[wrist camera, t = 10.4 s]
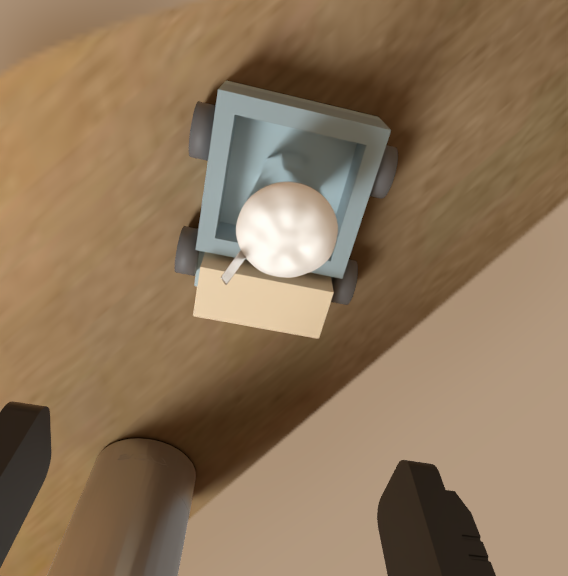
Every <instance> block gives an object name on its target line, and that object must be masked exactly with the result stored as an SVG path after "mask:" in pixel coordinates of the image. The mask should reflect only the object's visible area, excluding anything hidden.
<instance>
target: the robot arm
mask: <svg viewBox="0 0 568 576" xmlns="http://www.w3.org/2000/svg"><path fill="white" fill-rule="evenodd" d="M50 460H51V432H50V411H49V408H48V407H46V406H39V405H32V404H25V403H18V402H9V403H8V404H6V405H5V407H4V408H3V409H2V411H1V412H0V568H1V566H2V564H3V562H4V560H5V558H6V556H7V554H8V552H9V550H10V548H11V546H12V544H13V542H14V540H15V538H16V536H17V534H18V532H19V530H20V528H21V526H22V524H23V522H24V520H25V518H26V516H27V514H28V512H29V510H30V508H31V506H32V504H33V502H34V500H35V498H36V496H37V494H38V492H39V490H40V488H41V486H42V484H43V482H44V480H45V478H46V475H47V472H48V469H49V465H50ZM195 480H196V472H195V468H194V466H193V464H192V462H191V461H190V460H189V458H188V457H187V456H186V455H185V454H183V453H182V452H181V451H180V450H178V449H176V448H174V447H173V446H171V445H168V444H166V443H163V442H160V441H156V440H151V439H141V438H136V439H126V440H122V441H117V442H115V443H113V444H111V445H109V446H107V447H106V448H105V449H103V450H102V451H101V453H100V454H99V455H98V457H97V459H96V462H95V464H94V466H93V469H92V471H91V473H90V476H89V478H88V480H87V483H86V485H85V488H84V490H83V492H82V494H81V497H80V499H79V501H78V503H77V506H76V508H75V511H74V513H73V515H72V518H71V520H70V522H69V525H68V527H67V530H66V532H65V534H64V537H63V539H62V541H61V544H60V546H59V548H58V551H57V553H56V556H55V558H54V560H53V563H52V565H51V567H50V570H49V572H48V575H47V576H177V575H178V570H179V565H180V560H181V555H182V549H183V544H184V539H185V533H186V528H187V523H188V519H189V513H190V508H191V502H192V497H193V491H194V486H195ZM377 520H378V528H379V534H380V539H381V544H382V548H383V554H384V559H385V564H386V569H387V574H388V576H496V575H495V572H494V570H493V567H492V565H491V562H489V561H488V555H487V552H486V549H485V547H484V544H483V542H481V541H480V534H479V532H478V529H477V527H476V524H475V522H474V519H473V517H472V514H471V512H470V511H469V510H468V508H467V507H466V506H465V504H464V503H463V502H462V500H461V499H460V498H459V496H458V495H457V494H456V492H455V491H447V490H445V487H444V485H443V482H442V479H441V476H440V474H439V471H438V469H437V467H435V465H433V464H427V463H421V462H414V461H407V460H401V461H400V462H399V464H398V465H397V467H396V469H395V471H394V473H393V475H392V477H391V479H390V481H389V483H388V485H387V487H386V489H385V491H384V492H383V494H382V496H381V499H380V502H379V505H378V513H377Z"/></svg>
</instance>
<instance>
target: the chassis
mask: <svg viewBox="0 0 568 576" xmlns="http://www.w3.org/2000/svg"><path fill="white" fill-rule="evenodd" d="M390 132H391V129H390V128H389V127H388V126H387V125H386V124H385V123H384V122H383V121H382V120H381V119H380V118H379V117H377V116H373V115H369V114H365V113H361V112H357V111H352V110H348V109H344V108H340V107H336V106H331V105H327V104H323V103H319V102H315V101H311V100H306V99H302V98H298V97H294V96H290V95H286V94H281V93H277V92H273V91H269V90H265V89H260V88H256V87H252V86H248V85H244V84H240V83H235V82H231V81H227V80H226V81H225V82H224V83H223V84H222V85H221V86H220V88H219V89H218V93H217V100H216V105H212V104H207V103H203V102H199V101H198V102H197V104H196V107H195V110H194V114H193V119H192V124H191V130H190V138H189V156H190V157H194V158H198V159H203V160H207V161H208V164H207V172H206V179H205V186H204V193H203V200H202V207H201V215H200V222H199V229H196V228H191V227H186V226H184V227H183V228H182V231H181V234H180V237H179V242H178V246H177V252H176V258H175V272H177V273H182V274H188V275H193V276H195V274H196V278H195V285H194V286H197V292H196V299H195V306H194V313H193V316H196V317H201V318H207V319H212V320H218V321H223V322H229V323H234V324H240V325H245V326H251V327H257V328H262V329H268V330H273V331H279V332H284V333H290V334H295V335H301V336H306V337H312V338H317V339H319V337H320V334H321V330H322V327H323V324H324V321H325V318H326V315H327V312H328V309H329V306H330V303H331V302H335V303H340V304H345V305H347V304H349V303H350V301H351V299H352V297H353V294H354V291H355V287H356V283H357V276H358V265H357V262H356V261H354V260H349V257H350V254H351V251H352V248H353V245H354V242H355V239H356V236H357V233H358V230H359V227H360V224H361V220H362V217H363V214H364V211H365V208H366V205H367V202H368V199H369V196H372V197H376V198H381V199H382V198H384V197H385V196H386V195H387V193H388V191H389V189H390V187H391V185H392V182H393V180H394V176H395V173H396V168H397V162H398V150H397V148H396V147H392V146H388V145H386V144H387V141H388V138H389V135H390ZM281 151H284V152H290V153H296V154H300V155H301V156H302V157H303V159H304V160H305V161H306V162H307V163H308V164H309V165H310V166H311V167H312V169H313V171H314V173H315V175H316V178H317V180H318V182H319V184H320V186H321V188H322V191H323V193H324V194H325V196H326V198H327V200H328V201H329V203H330V205H331V207H332V209H333V211H334V213H335V216H336V219H337V223H338V234H337V240H336V244H335V247H334V250H333V253H332V255H331V256H330V258H329V259H328V260H327V261H326V262H325V263H324V264H323V265H322V266H321V267H319V268H318V269H316V270H314V271H312V272H309V273H307V274H304V275H301V276H297V277H292V278H284V277H276V276H272V275H268V274H266V273H263V272H261V271H260V270H258V269H257V268H255V267H254V266H253V265H252V264H251V263H250V262H249V261H248V260H247V259H245V260H244V261H243V263H242V264H241V266H240V267H239V268H238V270H237V271H236V273H235V274H234V275H233V277H232V278H231V280H230V281H229V283H228V284H227V285H225V284H224V282H223V281H222V279H221V276H222V274H223V273H224V272H225V270H226V269H227V268H228V266H229V265H230V264H231V262H232V261H233V260H234V258H235V257H236V255H237V254H238V253H239V251H240V250H241V249H240V247H239V244H238V241H237V237H236V224H237V219H238V216H239V214H240V211H241V209H242V207H243V205H244V203H245V201H246V200H247V198H248V196H249V194H250V192H251V191H252V189H253V187H254V184H255V182H256V179H257V177H258V175H259V173H260V171H261V169H262V167H263V165H264V163H265V160H266V159H267V158H269V157H271V156H273V155H275V154H277V153H279V152H281ZM196 270H197V271H196Z"/></svg>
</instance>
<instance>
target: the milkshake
mask: <svg viewBox="0 0 568 576" xmlns="http://www.w3.org/2000/svg"><path fill="white" fill-rule="evenodd" d="M337 234H338V223H337V219H336V216H335V213H334V211H333V209H332V207H331V205H330V203H329V201H328V200H327V198H326V196H325V194H324V193H323V191H322V188H321V186H320V184H319V182H318V180H317V178H316V175H315V173H314V171H313V169H312V167H311V166H310V165H309V164H308V163H307V162H306V161H305V160H304V159H303V157H302V156H301V155H300V154H296V153H290V152H284V151H281V152H279V153H277V154H275V155H273V156H271V157H269V158H267V159H266V160H265V163H264V165H263V167H262V169H261V171H260V173H259V175H258V177H257V179H256V182H255V184H254V187H253V189H252V191H251V192H250V194H249V196H248V198H247V200H246V201H245V203H244V205H243V207H242V209H241V211H240V214H239V216H238V219H237V224H236V237H237V241H238V244H239V247H240V249H241V250H240V251H239V253H238V254H237V255H236V257H235V258H234V260H233V261H232V262H231V264H230V265H229V266H228V268H227V269H226V270H225V272H224V273H223V274H222V276H221V279H222V281H223V282H224V284H225V285H227V284H228V283H229V281H230V280H231V278H232V277H233V275H234V274H235V273H236V271H237V270H238V268H239V267H240V266H241V264H242V263H243V261H244V260H245V259H247V260H248V261H249V262H250V263H251V264H252V265H253V266H254V267H255V268H257V269H258V270H260V271H261V272H263V273H266V274H268V275H272V276H276V277H284V278H292V277H297V276H301V275H304V274H307V273H309V272H312V271H314V270H316V269H318V268H319V267H321V266H322V265H323V264H324V263H325V262H326V261H327V260H328V259H329V258H330V256H331V255H332V253H333V250H334V247H335V244H336V240H337Z"/></svg>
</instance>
